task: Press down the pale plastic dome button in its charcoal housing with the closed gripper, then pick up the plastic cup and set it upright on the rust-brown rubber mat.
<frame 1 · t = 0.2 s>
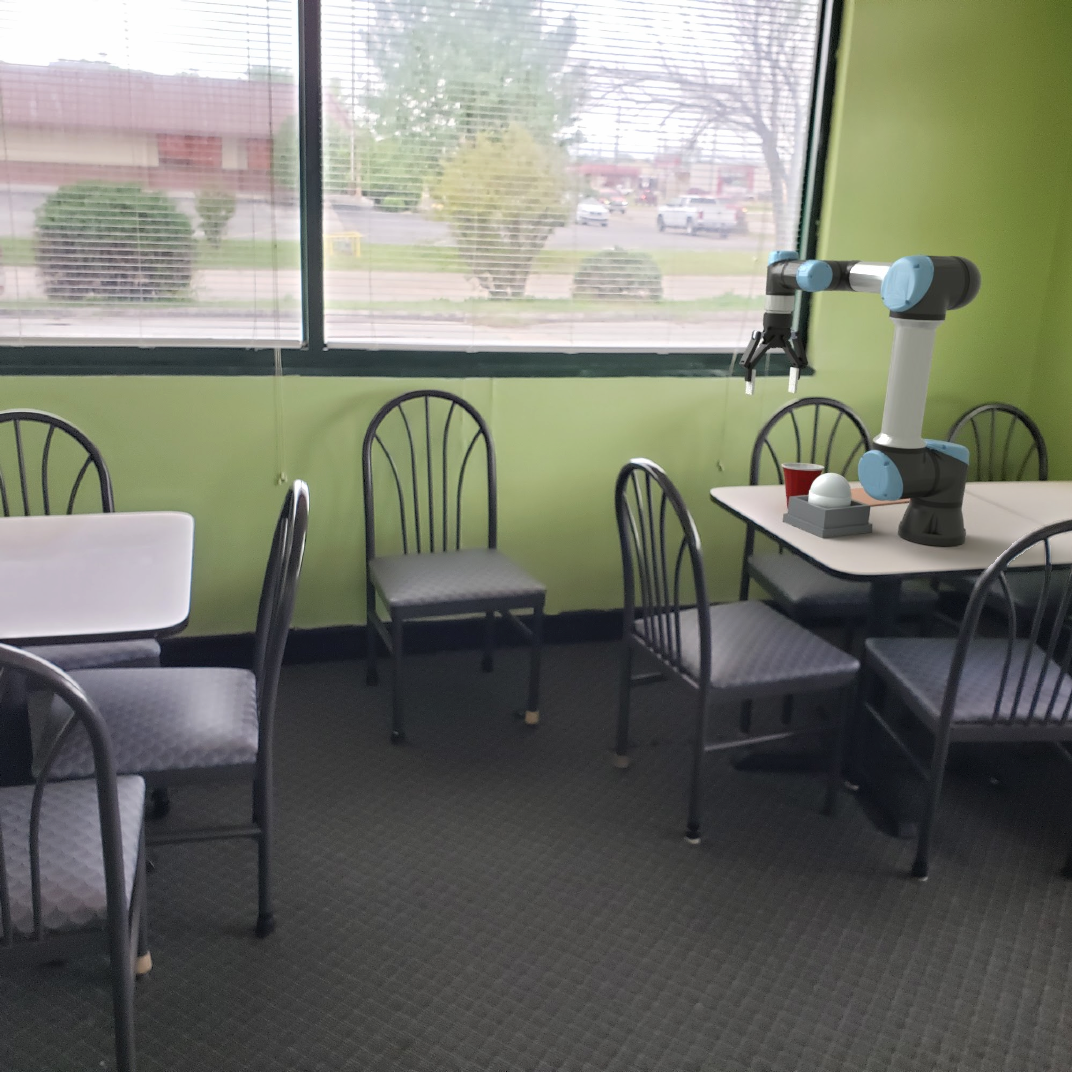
hand: (771, 393, 273), 28 cm above the table, tool pointing down, fingers open, 13 cm apart
dome housing: (826, 526, 251), on the table
dome: (830, 492, 248), point 9 cm above the table, slide at 0.0 cm
plastic cup: (798, 509, 266), on the table
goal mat: (871, 496, 281), on the table
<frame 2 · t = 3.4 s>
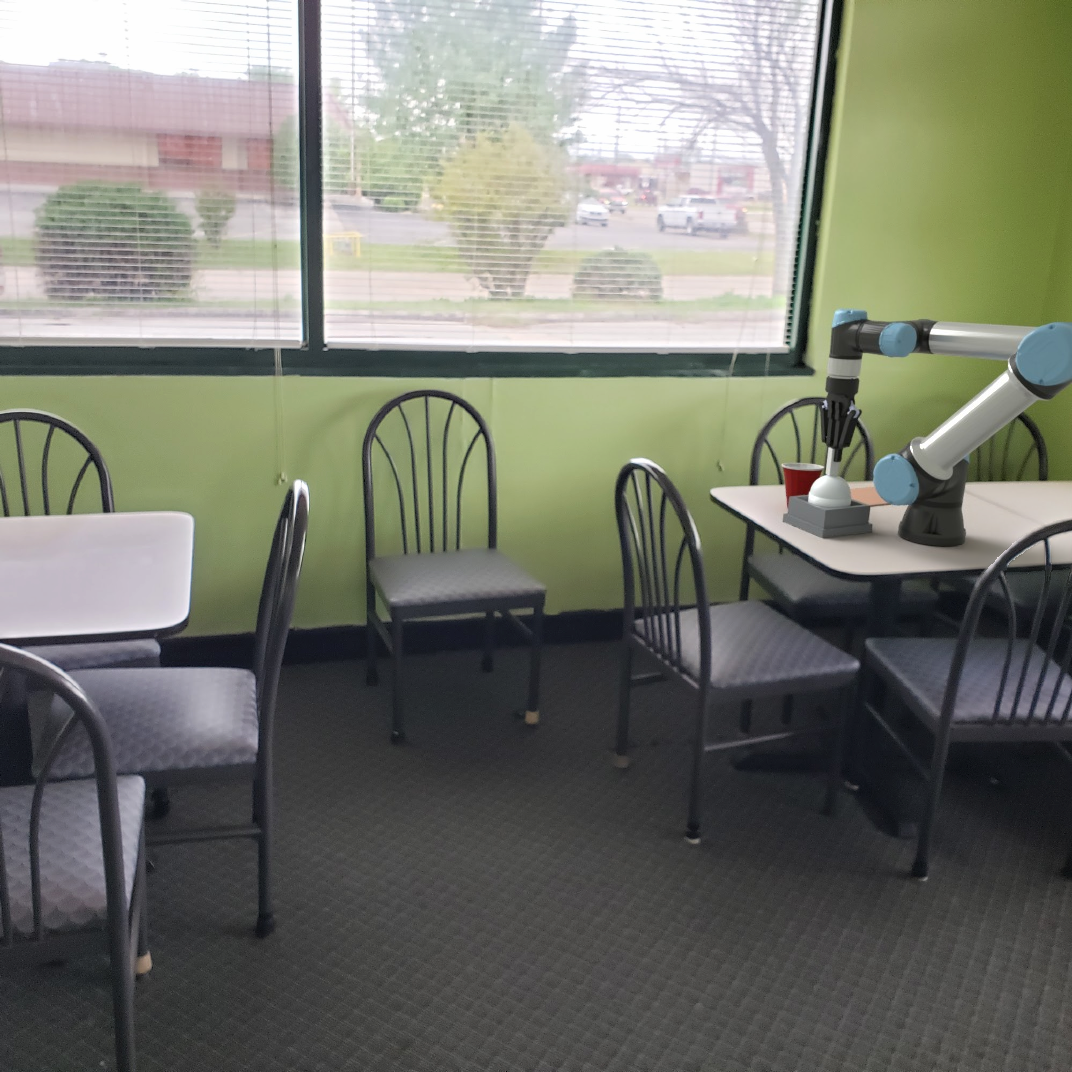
hand: (832, 474, 247), 13 cm above the table, tool pointing down, fingers closed
dome: (830, 494, 248), point 8 cm above the table, slide at 0.5 cm, touching gripper
everything else where it was.
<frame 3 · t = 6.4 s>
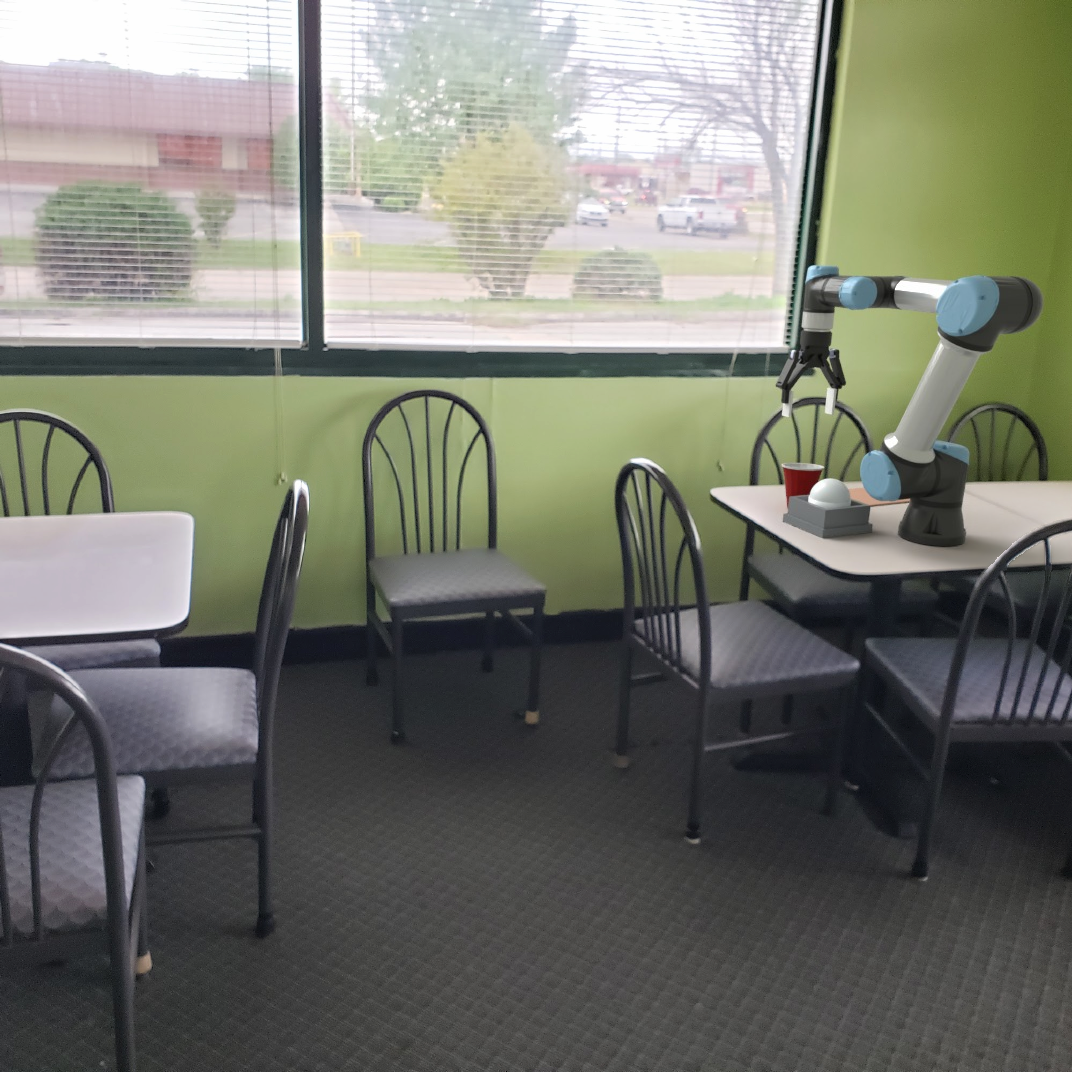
hand: (808, 415, 259), 25 cm above the table, tool pointing down, fingers open, 13 cm apart
dome: (829, 498, 249), point 7 cm above the table, slide at 1.4 cm
everything else where it was.
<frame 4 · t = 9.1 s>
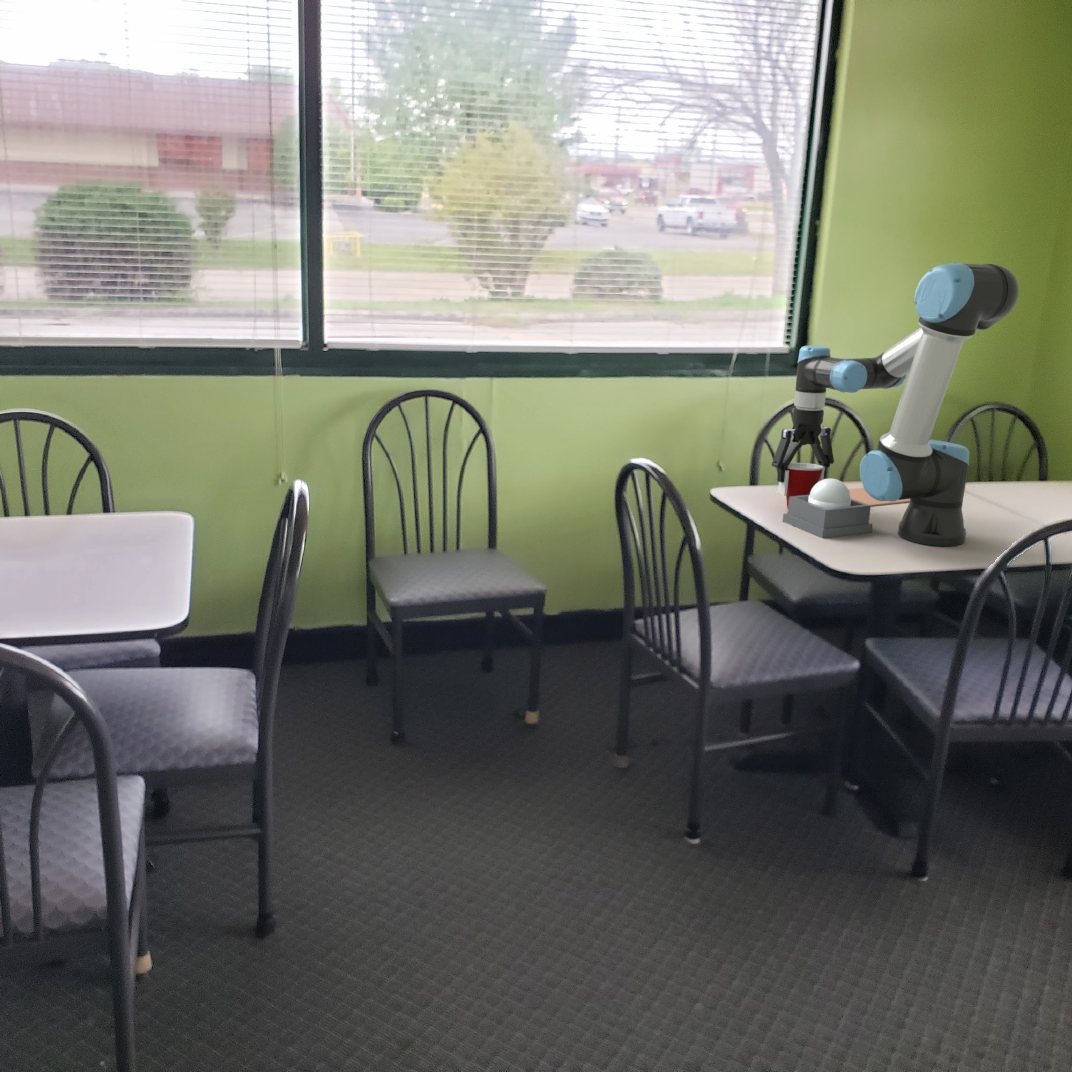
hand: (800, 492, 265), 4 cm above the table, tool pointing down, fingers closed on plastic cup, 11 cm apart
plastic cup: (798, 509, 266), on the table, touching gripper
everything else where it was.
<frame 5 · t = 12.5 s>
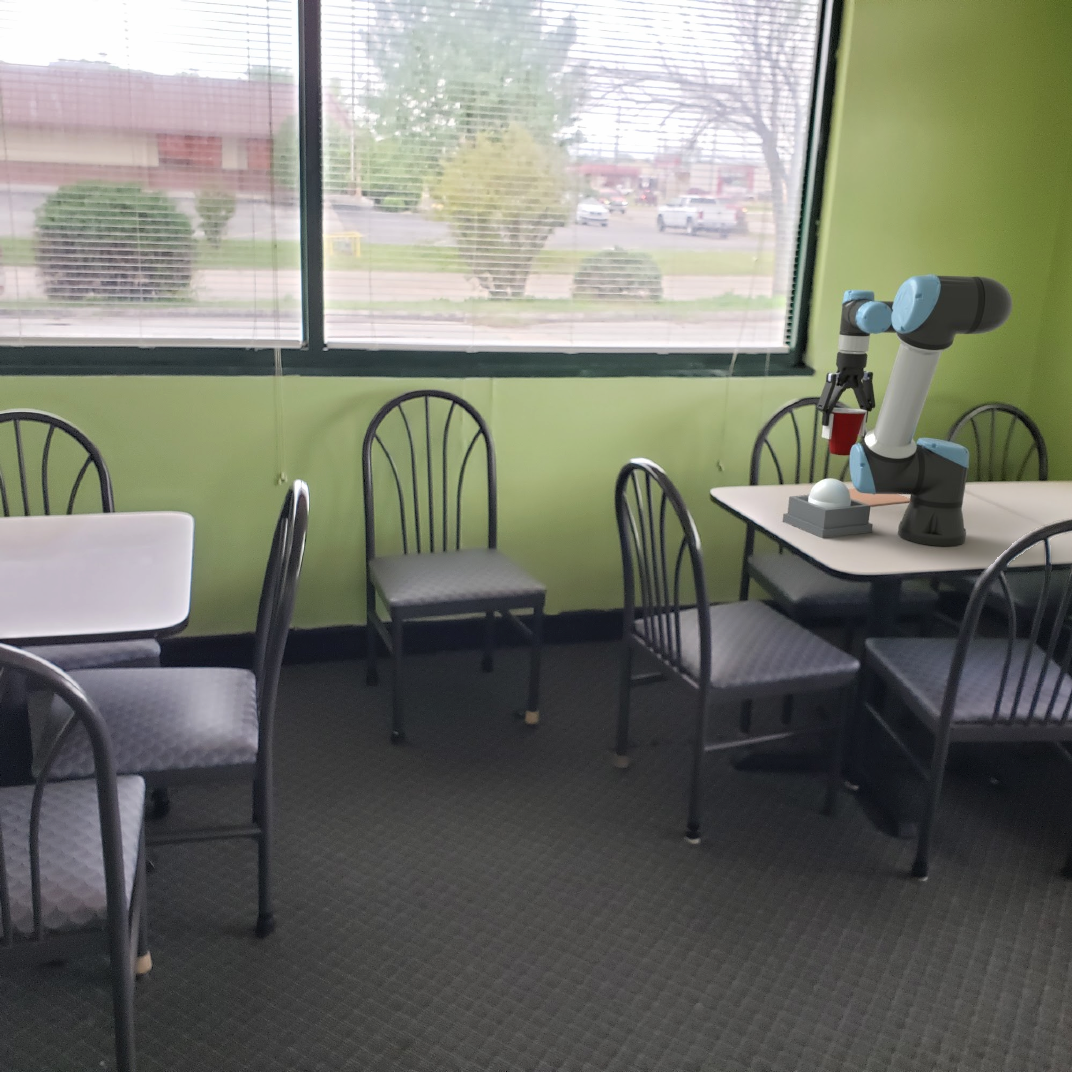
hand: (842, 436, 269), 18 cm above the table, tool pointing down, fingers closed on plastic cup, 11 cm apart
plastic cup: (840, 454, 270), point 13 cm above the table, touching gripper
everything else where it was.
when the fingers open (6 cm above the table, at t = 16.2 s): plastic cup drops 1 cm, resting on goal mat.
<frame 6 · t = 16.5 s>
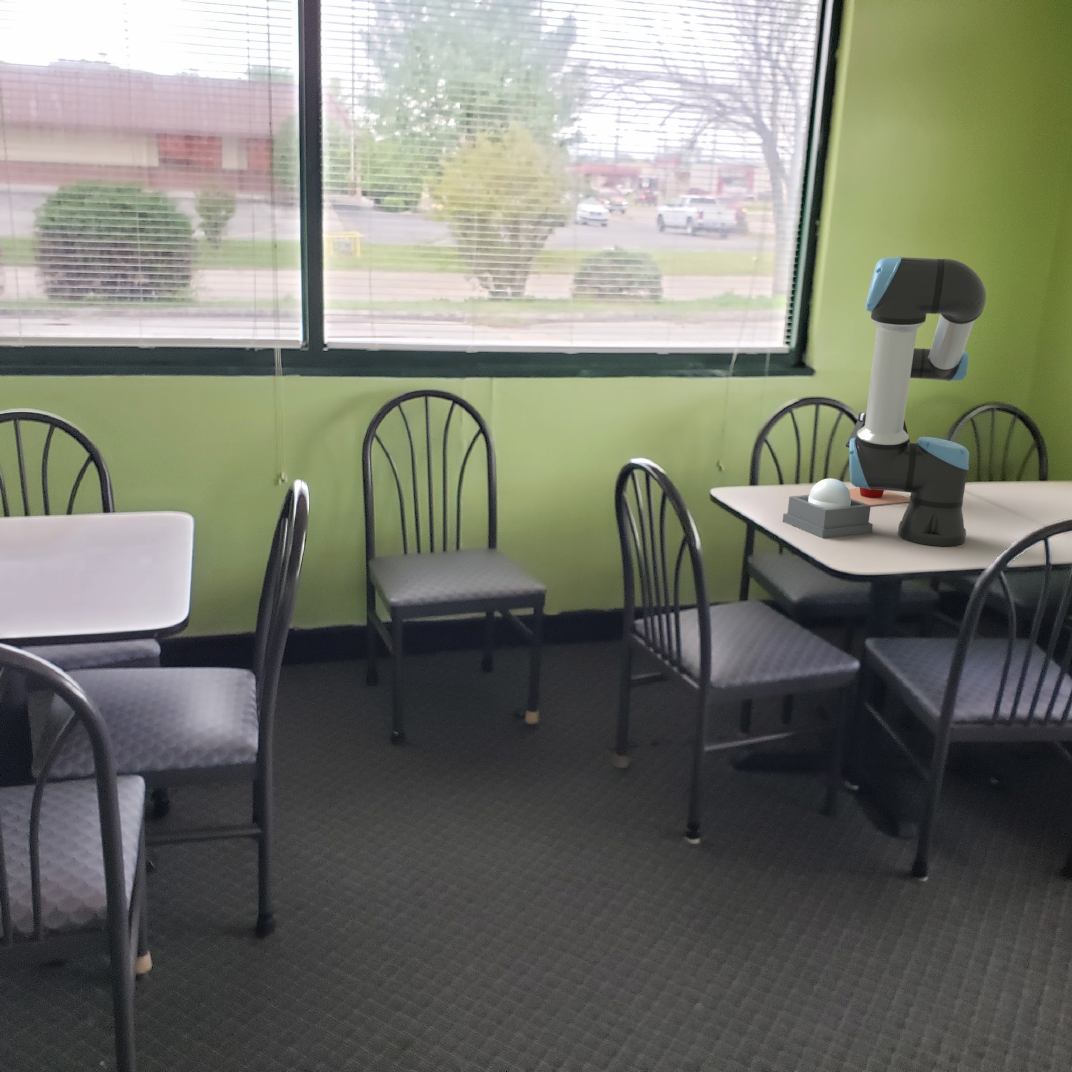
hand: (874, 472, 279), 7 cm above the table, tool pointing down, fingers open, 13 cm apart
plastic cup: (870, 496, 281), resting on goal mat
everything else where it was.
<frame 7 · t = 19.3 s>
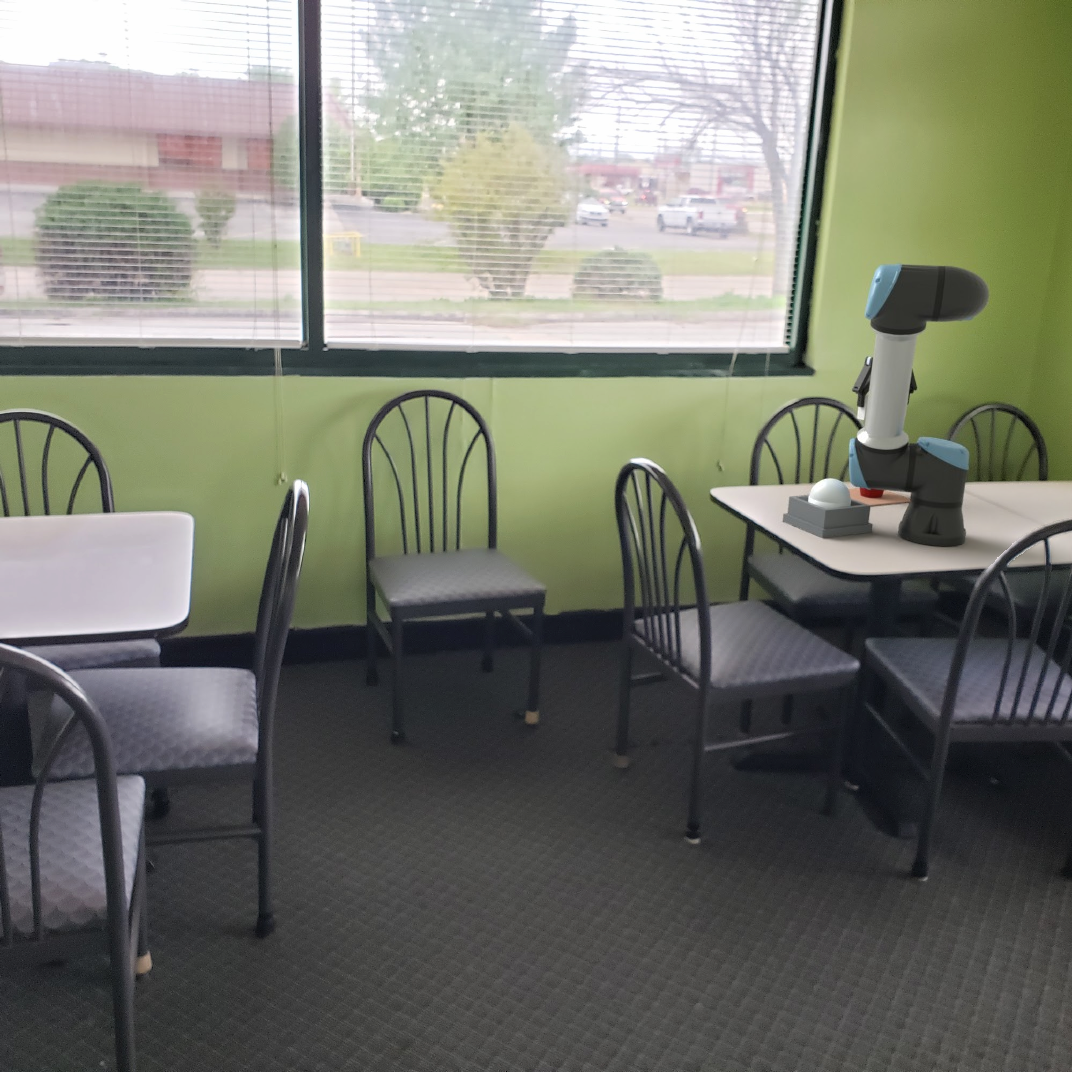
hand: (881, 418, 275), 22 cm above the table, tool pointing down, fingers open, 13 cm apart
nothing on the table moved.
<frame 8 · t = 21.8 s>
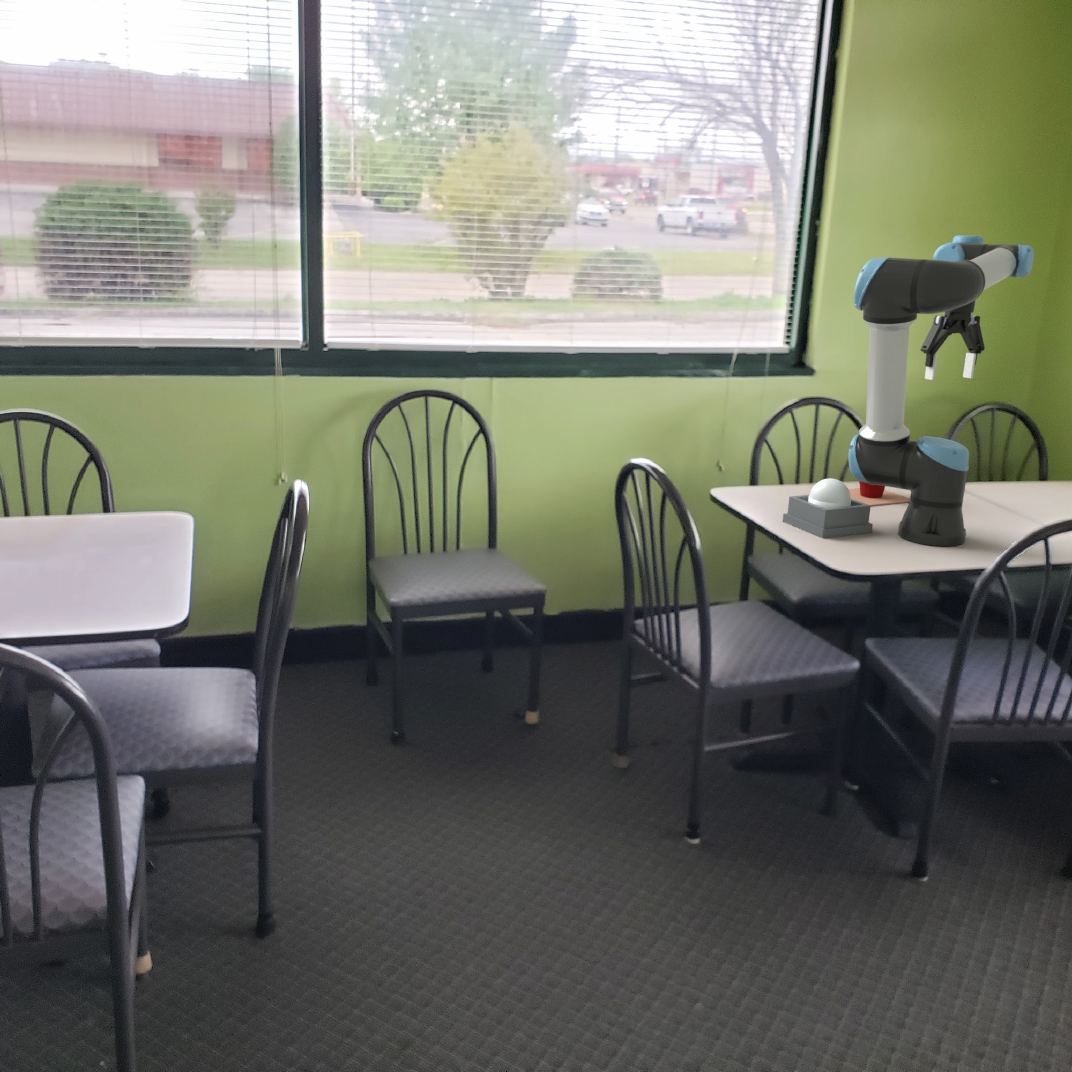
hand: (948, 378, 273), 33 cm above the table, tool pointing down, fingers open, 13 cm apart
nothing on the table moved.
at the end: dome slide at 1.4 cm; plastic cup inside the target area on the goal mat (0.4 cm from its centre), point 0.2 cm above the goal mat's base; plastic cup tilted 0° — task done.
